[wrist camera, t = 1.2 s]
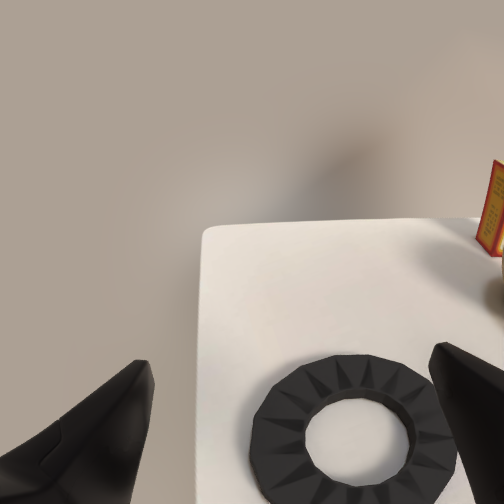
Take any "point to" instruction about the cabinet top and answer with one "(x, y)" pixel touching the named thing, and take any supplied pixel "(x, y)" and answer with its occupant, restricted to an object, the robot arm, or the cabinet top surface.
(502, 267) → the planter bowl
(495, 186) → the baking soda box
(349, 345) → the cabinet top surface
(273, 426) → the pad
